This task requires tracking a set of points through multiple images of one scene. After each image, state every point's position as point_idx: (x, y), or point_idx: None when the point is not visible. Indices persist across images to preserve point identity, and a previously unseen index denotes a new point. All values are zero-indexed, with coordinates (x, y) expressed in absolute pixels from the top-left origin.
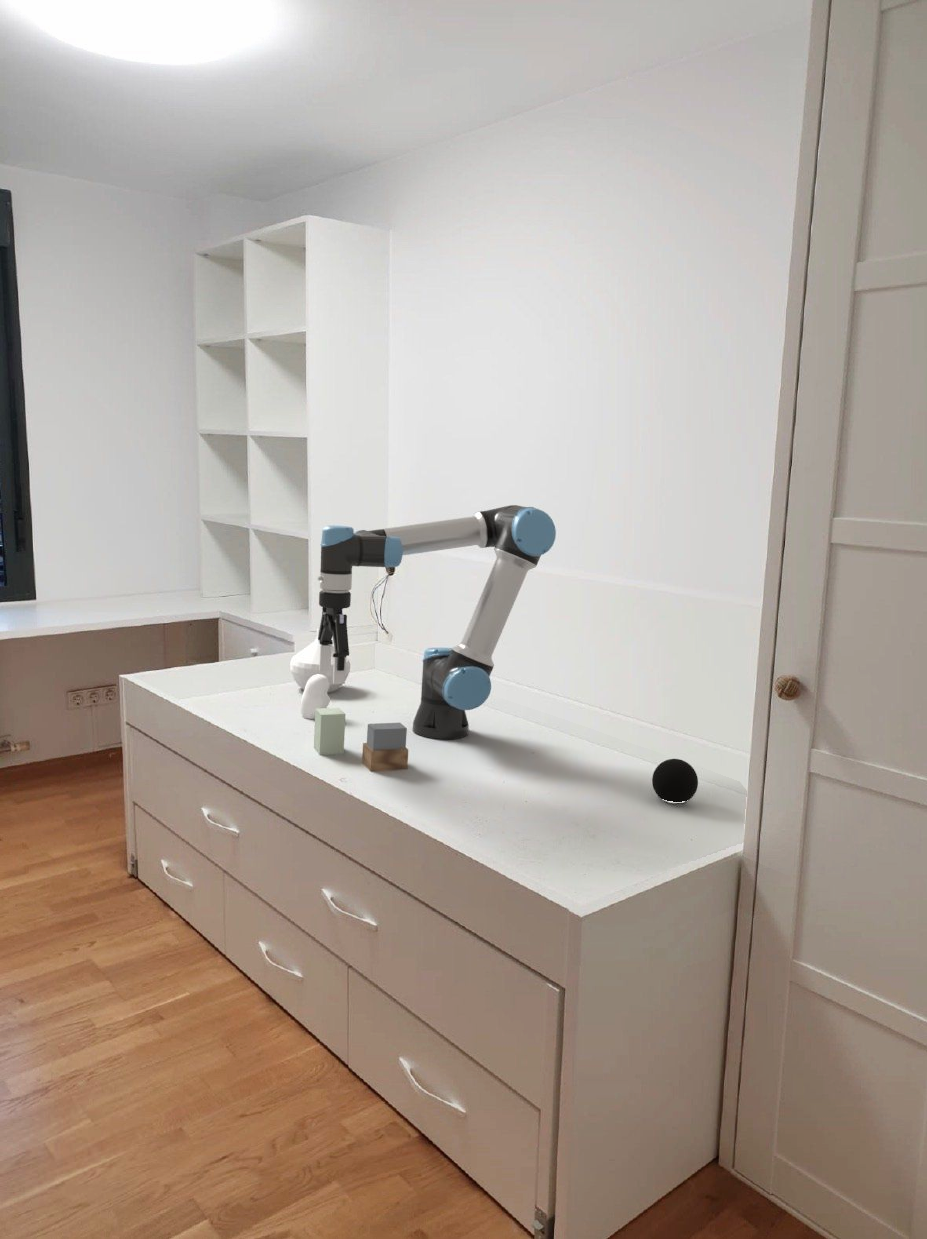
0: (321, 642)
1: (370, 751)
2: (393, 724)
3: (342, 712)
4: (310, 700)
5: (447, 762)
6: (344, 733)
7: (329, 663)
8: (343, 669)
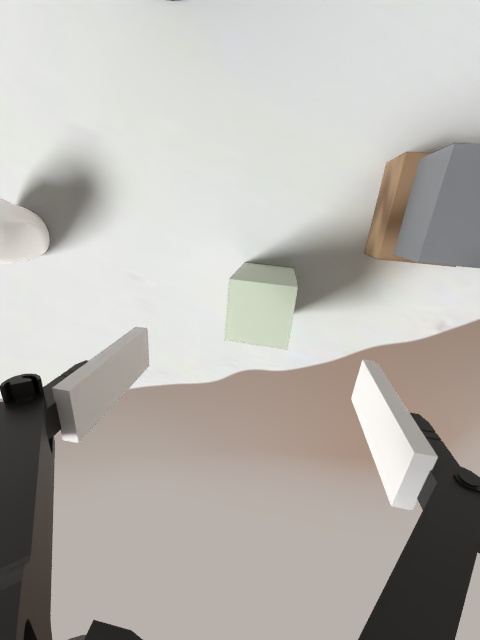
0: (53, 450)
1: (444, 265)
2: (465, 179)
3: (280, 289)
4: (14, 251)
5: (469, 10)
6: (295, 276)
7: (130, 347)
8: (424, 422)
